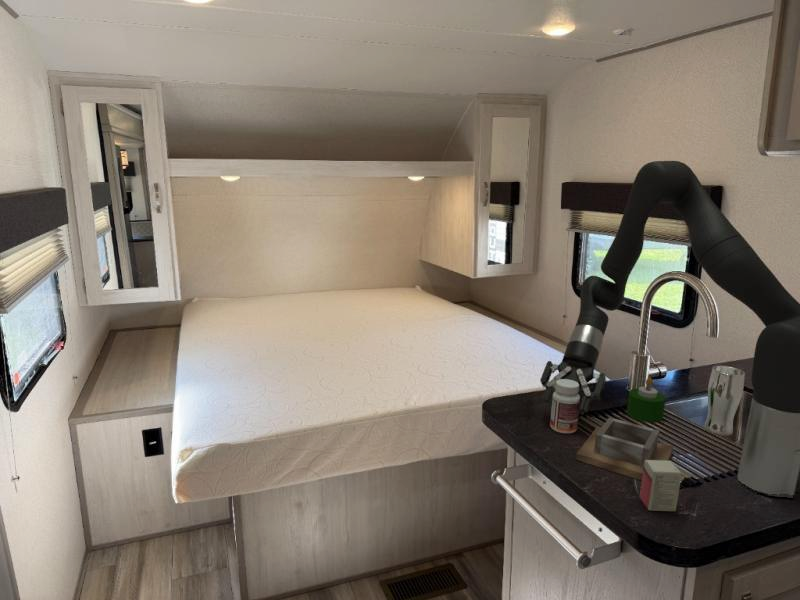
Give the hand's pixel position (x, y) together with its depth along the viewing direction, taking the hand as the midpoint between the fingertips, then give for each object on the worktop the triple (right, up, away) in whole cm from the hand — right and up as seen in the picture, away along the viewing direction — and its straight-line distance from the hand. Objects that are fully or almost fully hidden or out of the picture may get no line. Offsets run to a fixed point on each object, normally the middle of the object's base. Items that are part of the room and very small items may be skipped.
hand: (563, 408), depth 129 cm
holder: (+10, -8, -10) cm, 16 cm away
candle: (+23, -4, +11) cm, 26 cm away
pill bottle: (+1, -5, +3) cm, 6 cm away
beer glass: (+38, -6, +4) cm, 39 cm away
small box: (+9, -13, -27) cm, 31 cm away
